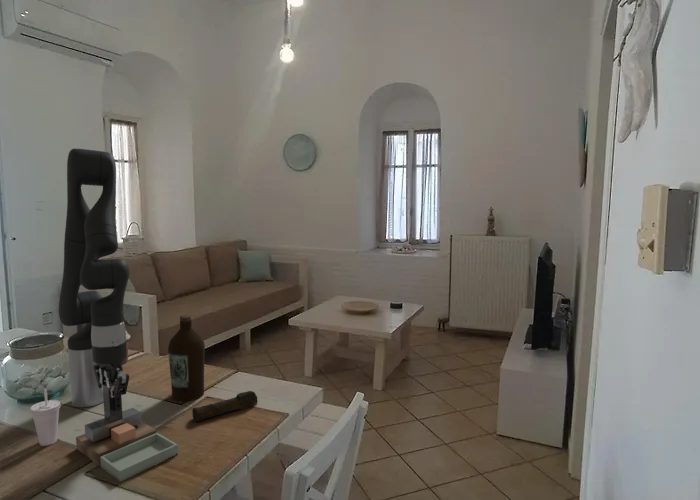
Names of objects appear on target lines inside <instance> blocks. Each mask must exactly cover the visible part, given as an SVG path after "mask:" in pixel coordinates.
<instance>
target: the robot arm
mask: <svg viewBox="0 0 700 500" xmlns="http://www.w3.org/2000/svg"><path fill="white" fill-rule="evenodd" d="M66 161H67V162H66V185H67V186H66V187H67V188H66V189H67V192H66V193H67V195H66V197H67V198H66V199H67V201H66V203H67V205H66V218H65V228H64V229H65V230H64V240H63V241H64V243H63V271H62V272H63V273H62V281H61V288H60V292H59V301H58V317H59V319H60V320H59V321H60V323H62V324H63V326H67V327H72V326H74V327H75V326H79V325H84V324H85V325H84V327H82V329H80V330H79V331H77V332H76V333H74V334H72V335H70V336H69V337H68V339H67V353H68V354H67V355H68V364H69V365H68V366H69V380H70V381H69V382H70V398H71V399H70V400H71V406H73V407H74V408H90V407H94V406H97V405H100V404H102V403H104V400H103V384H106V383H107V388H109V389H110V395H111V410H112V411H113V412H115V411H118V410H120V409H121V408H122V409H123V405H122V406H121V398H122V396H125V395H126V394H127V390H128V387H129V380H130V374H128V373H126V374H124V372H123V371H124V370H123V369H124V368H123V367H122V364H121V362H122V361H123V360H124V359H125V358H126V357H127V346H126V331H127V330H126V326H125V325H126V324H125V316H124V314H125V313H124V303H125V302H124V300H125V293H126V289H127V285H128V282H129V278H130V273H131V272H130V270H131V269H130V266H129V264H128V262H127V261H125V260H124V259H122V258H112V259H111V258H110V259H109V258H108V259H102V258H104V257H107V256H110V255H113V254H114V253H116V252H117V251H118V248H119V243H118V233H117V226H116V224H117V223H116V204H117V203H116V200H117V199H116V198H117V164H116V160H115V157H114V155H113V154H112V153H110V152H108V151H101V150H92V149H86V148H72V149H70V150H69V152H68V155H67V160H66ZM83 185H84V186H95V187H97V186H98V187H102V192H101V195H100V197H99V198H98V200H97V201H96V203H94V205H93V206H92V208H91V209H90V207H89V205H88V203H87V202H86V199H85V198H84V195H83V192H82V186H83ZM100 258H101V259H100ZM81 286H82V287H83V288H85V289H86V291H81V292H79V290H80V287H81ZM105 289H107V290H109V289H113V291H112V292H111V293H110V294H108V295H106V296H104V297H102V294H101V293H100V292H99V291H97V290H105ZM113 382H116V383H114V384H111V383H113ZM114 387H115V390H114Z"/></svg>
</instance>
